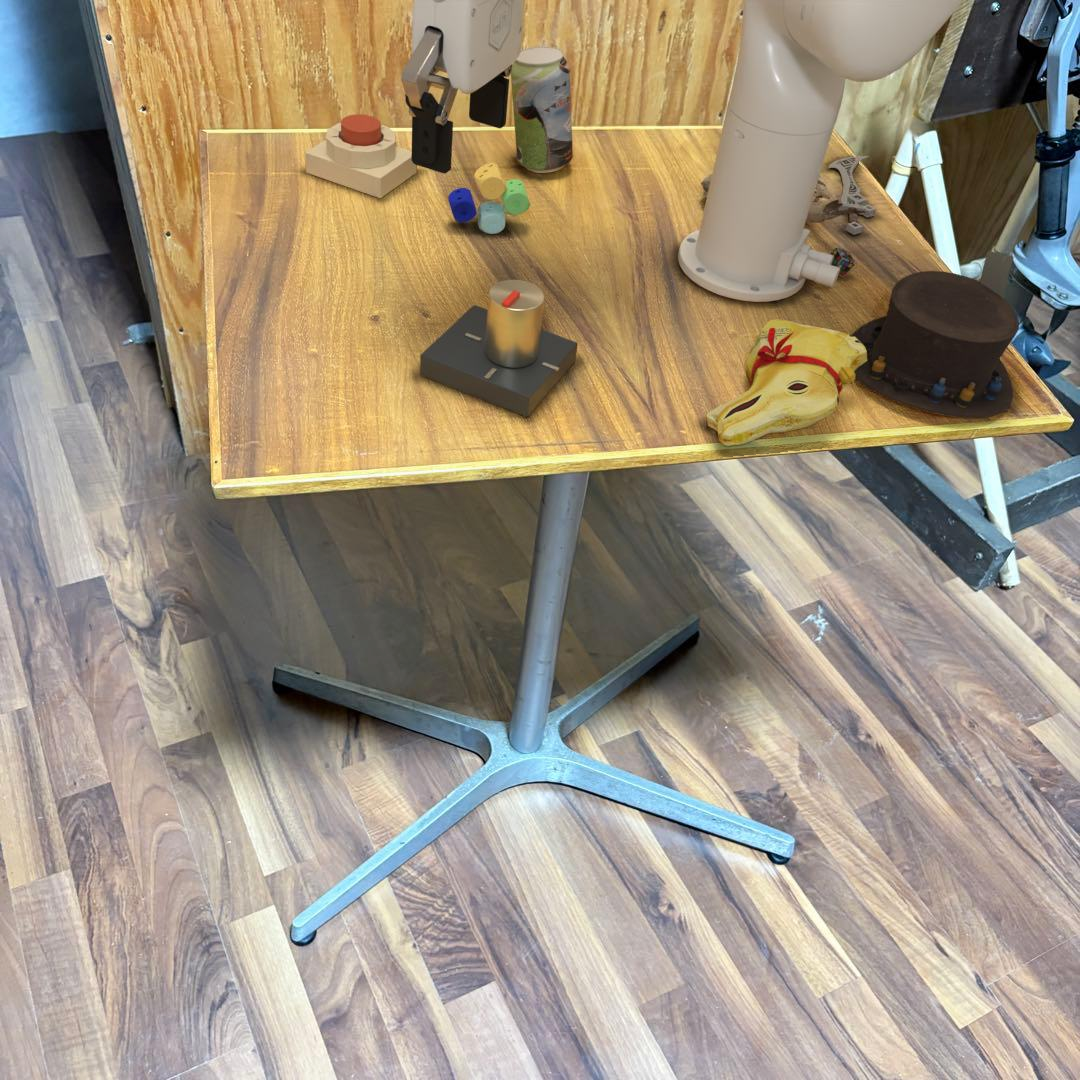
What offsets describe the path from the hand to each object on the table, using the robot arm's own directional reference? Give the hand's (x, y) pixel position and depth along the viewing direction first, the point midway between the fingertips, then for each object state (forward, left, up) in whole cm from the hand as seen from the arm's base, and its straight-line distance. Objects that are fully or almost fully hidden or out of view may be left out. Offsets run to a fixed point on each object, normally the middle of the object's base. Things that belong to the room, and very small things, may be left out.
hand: (460, 144), depth 86 cm
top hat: (-41, -14, -14) cm, 45 cm away
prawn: (-23, -36, -7) cm, 43 cm away
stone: (-16, -36, -16) cm, 42 cm away
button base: (+19, -15, -14) cm, 29 cm away
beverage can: (+5, -28, -14) cm, 32 cm away
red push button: (+19, -15, -11) cm, 27 cm away
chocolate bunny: (-32, -8, -10) cm, 34 cm away
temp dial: (-9, +7, -12) cm, 17 cm away
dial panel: (-9, +7, -14) cm, 18 cm away
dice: (+3, -13, -15) cm, 20 cm away
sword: (-23, -43, -14) cm, 51 cm away
